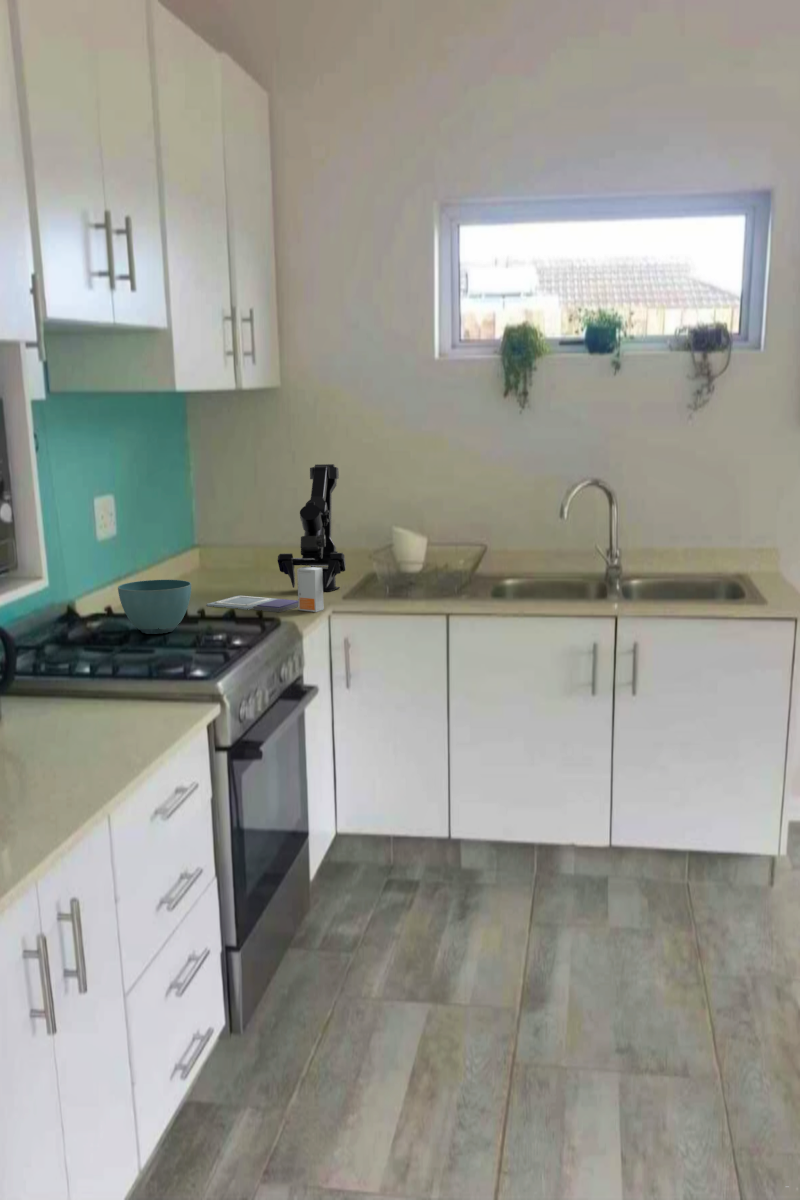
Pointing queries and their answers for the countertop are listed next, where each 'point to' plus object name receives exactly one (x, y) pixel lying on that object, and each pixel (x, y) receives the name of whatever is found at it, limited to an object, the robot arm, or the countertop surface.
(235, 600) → the board
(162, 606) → the teal bowl
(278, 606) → the ink pad
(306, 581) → the skincare box
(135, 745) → the countertop surface
